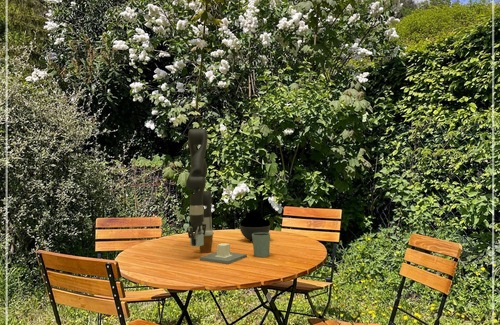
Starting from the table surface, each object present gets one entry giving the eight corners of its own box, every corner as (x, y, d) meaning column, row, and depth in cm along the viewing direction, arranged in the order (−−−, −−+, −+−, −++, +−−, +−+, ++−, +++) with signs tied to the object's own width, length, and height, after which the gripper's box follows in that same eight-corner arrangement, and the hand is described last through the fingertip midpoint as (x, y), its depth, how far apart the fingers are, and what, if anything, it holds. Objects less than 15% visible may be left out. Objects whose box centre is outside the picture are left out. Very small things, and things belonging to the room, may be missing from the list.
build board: (219, 253, 245) (219, 250, 245) (246, 257, 235) (246, 254, 235) (199, 260, 230) (199, 257, 230) (227, 264, 220) (227, 261, 220)
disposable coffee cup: (216, 250, 253) (216, 230, 253) (209, 254, 244) (209, 232, 244) (201, 249, 256) (201, 229, 256) (194, 253, 247) (194, 232, 247)
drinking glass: (264, 258, 232) (264, 236, 232) (248, 256, 237) (248, 234, 237) (273, 254, 240) (273, 233, 240) (258, 252, 246) (257, 231, 246)
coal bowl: (263, 237, 295) (263, 209, 294) (275, 242, 276) (275, 212, 276) (235, 239, 288) (235, 210, 287) (245, 244, 269) (245, 214, 269)
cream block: (222, 254, 236) (222, 243, 236) (230, 255, 233) (229, 244, 233) (217, 256, 232) (216, 244, 232) (224, 257, 229) (224, 245, 229)
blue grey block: (196, 244, 239) (196, 233, 239) (203, 245, 237) (203, 234, 237) (190, 245, 235) (190, 234, 235) (197, 246, 232) (197, 235, 232)
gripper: (193, 215, 227) (194, 248, 228) (210, 212, 240) (210, 242, 240) (182, 214, 231) (183, 246, 232) (199, 211, 244) (199, 241, 244)
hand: (197, 244), depth 236 cm, fingers closed on blue grey block, 5 cm apart
